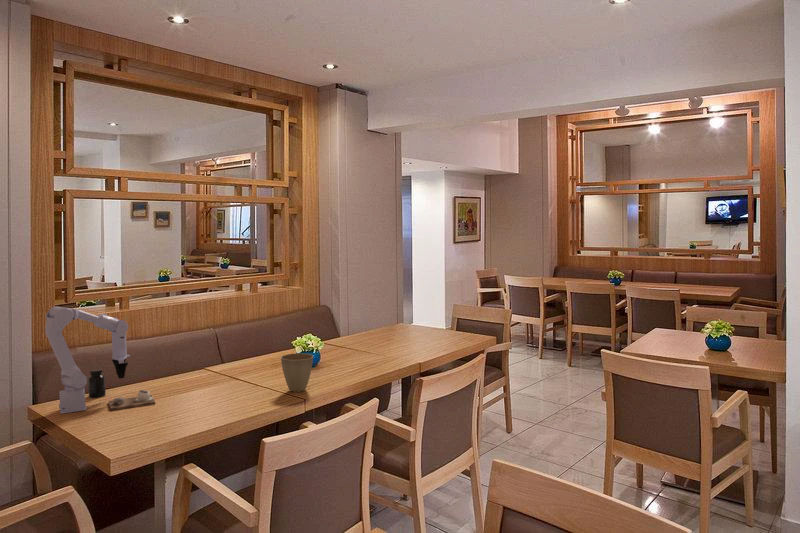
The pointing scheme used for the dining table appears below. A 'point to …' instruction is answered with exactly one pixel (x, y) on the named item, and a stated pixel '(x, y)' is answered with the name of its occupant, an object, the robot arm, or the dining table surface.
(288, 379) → the plant pot
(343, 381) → the dining table surface
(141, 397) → the knob
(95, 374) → the supplement bottle
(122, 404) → the base
